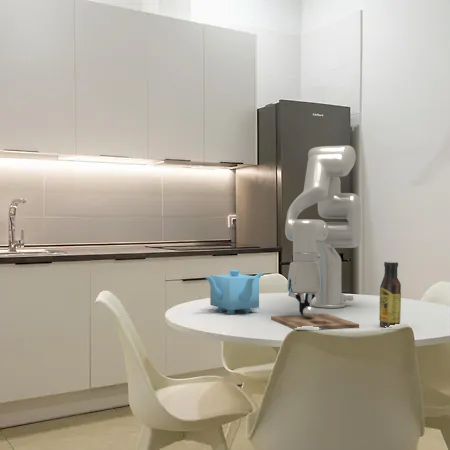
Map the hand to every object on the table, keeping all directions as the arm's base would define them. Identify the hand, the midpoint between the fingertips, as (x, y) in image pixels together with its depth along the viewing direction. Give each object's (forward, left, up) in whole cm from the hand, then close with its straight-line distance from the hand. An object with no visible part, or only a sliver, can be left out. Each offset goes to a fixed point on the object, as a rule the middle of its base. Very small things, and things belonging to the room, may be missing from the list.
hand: (304, 314), depth 202 cm
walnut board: (0, +7, -2) cm, 7 cm away
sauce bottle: (-20, +19, -2) cm, 28 cm away
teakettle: (+16, -23, -2) cm, 28 cm away
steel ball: (0, +4, +1) cm, 4 cm away
